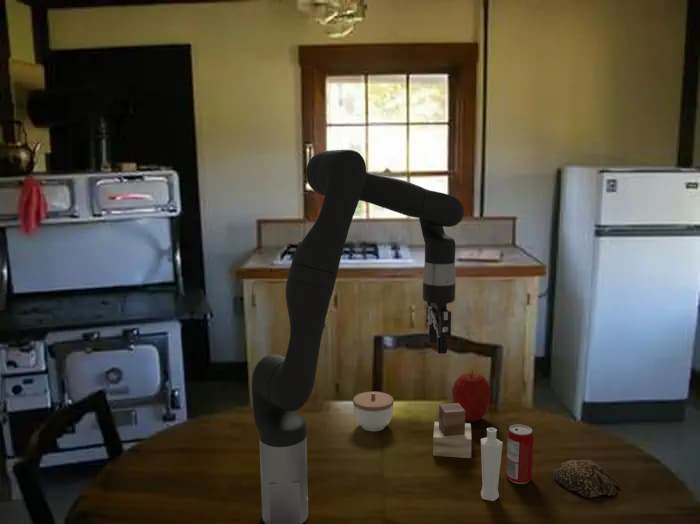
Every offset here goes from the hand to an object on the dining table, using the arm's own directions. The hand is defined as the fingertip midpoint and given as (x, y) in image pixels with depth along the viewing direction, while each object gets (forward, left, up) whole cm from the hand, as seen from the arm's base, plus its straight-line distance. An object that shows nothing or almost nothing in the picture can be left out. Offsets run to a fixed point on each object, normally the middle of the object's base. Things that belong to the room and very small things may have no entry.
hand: (437, 347), depth 151 cm
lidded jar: (+15, +13, -26) cm, 33 cm away
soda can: (-16, -15, -26) cm, 34 cm away
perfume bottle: (-22, -6, -26) cm, 35 cm away
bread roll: (-20, -29, -27) cm, 44 cm away
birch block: (0, -4, -26) cm, 27 cm away
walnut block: (0, -4, -21) cm, 22 cm away
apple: (+16, -14, -26) cm, 34 cm away
